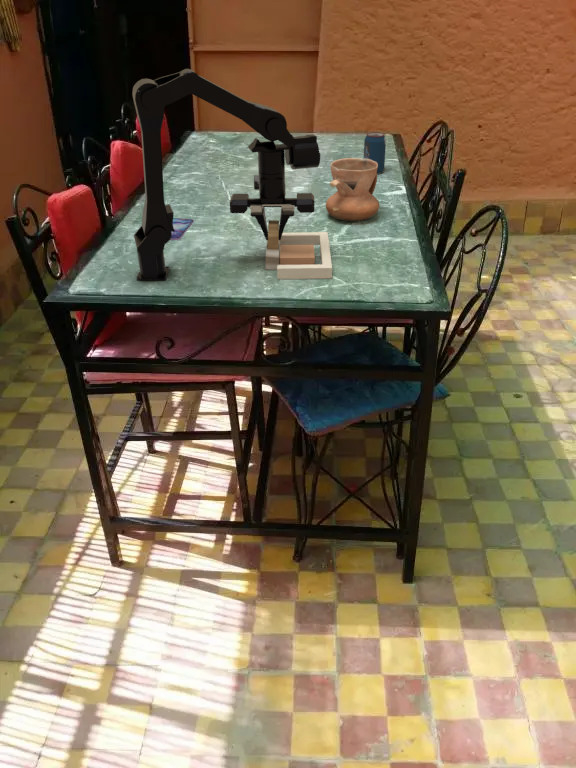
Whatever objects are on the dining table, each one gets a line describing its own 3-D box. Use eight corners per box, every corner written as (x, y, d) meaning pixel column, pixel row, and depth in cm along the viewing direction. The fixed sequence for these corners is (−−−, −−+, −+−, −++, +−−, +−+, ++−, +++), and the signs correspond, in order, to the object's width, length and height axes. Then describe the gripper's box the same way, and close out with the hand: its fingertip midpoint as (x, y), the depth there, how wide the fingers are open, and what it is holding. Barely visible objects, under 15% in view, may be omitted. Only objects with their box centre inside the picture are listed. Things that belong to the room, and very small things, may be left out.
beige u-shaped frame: (327, 241, 158) (327, 232, 157) (331, 278, 140) (332, 267, 139) (279, 242, 158) (279, 232, 157) (277, 279, 140) (277, 268, 139)
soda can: (386, 170, 211) (389, 132, 204) (380, 175, 206) (382, 137, 199) (366, 168, 213) (368, 130, 207) (360, 173, 208) (361, 135, 202)
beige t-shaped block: (278, 269, 144) (279, 231, 139) (265, 269, 144) (266, 231, 139) (279, 249, 154) (280, 213, 149) (267, 249, 154) (268, 213, 149)
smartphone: (194, 219, 173) (178, 239, 160) (195, 222, 173) (179, 242, 161) (168, 217, 174) (150, 237, 161) (168, 220, 174) (151, 240, 162)
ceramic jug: (350, 230, 165) (353, 175, 157) (311, 217, 173) (311, 164, 166) (394, 214, 175) (399, 161, 167) (355, 202, 184) (357, 152, 176)
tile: (314, 267, 146) (314, 257, 145) (279, 268, 146) (279, 258, 145) (313, 254, 153) (313, 244, 151) (280, 254, 153) (280, 245, 152)
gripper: (313, 160, 145) (312, 227, 153) (231, 161, 145) (235, 227, 153) (314, 174, 135) (314, 244, 144) (227, 175, 136) (231, 245, 144)
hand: (273, 239), depth 147 cm, fingers closed on beige t-shaped block, 2 cm apart
